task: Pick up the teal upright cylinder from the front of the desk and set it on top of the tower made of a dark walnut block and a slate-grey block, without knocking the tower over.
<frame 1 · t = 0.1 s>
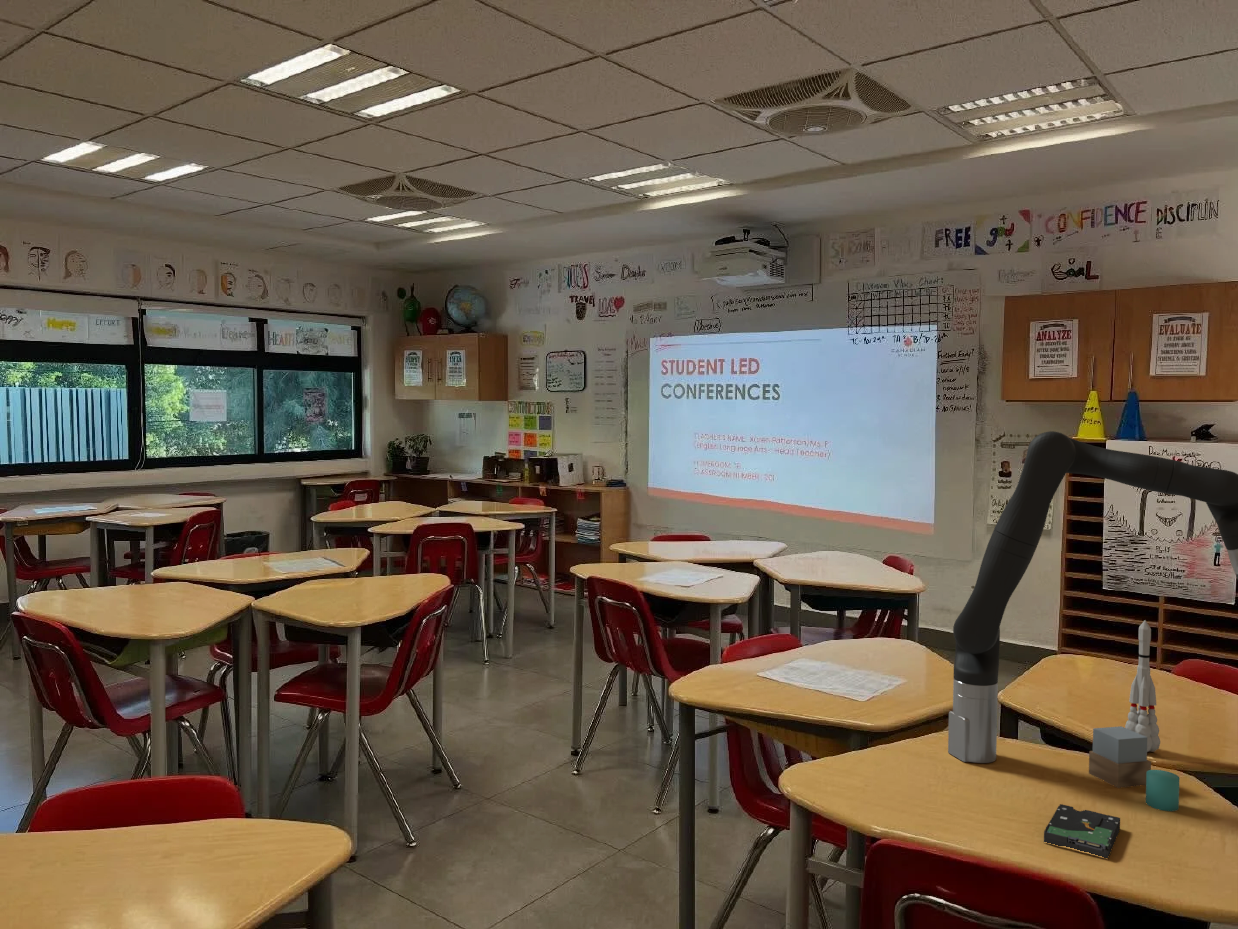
teal upright cylinder: (1162, 805, 174), on the table
base block: (1119, 779, 187), on the table, touching middle block
rocket model: (1141, 751, 203), on the table
middle block: (1119, 756, 186), point 5 cm above the table, touching base block
disk drive: (1082, 840, 160), on the table
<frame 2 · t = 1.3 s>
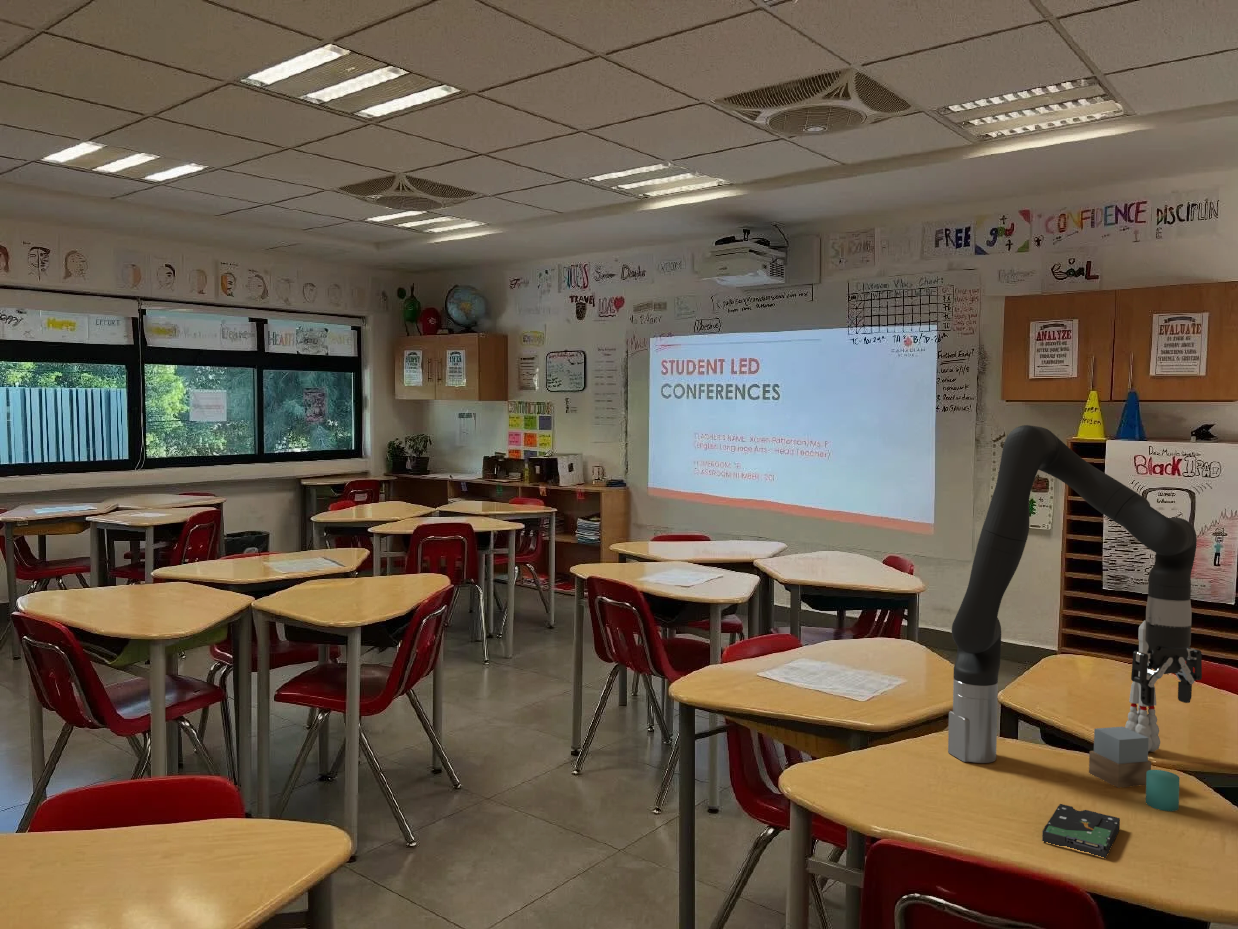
hand: (1165, 703, 173), 20 cm above the table, tool pointing down, fingers open, 8 cm apart
base block: (1119, 779, 187), on the table
middle block: (1120, 756, 186), point 5 cm above the table
everything else where it was.
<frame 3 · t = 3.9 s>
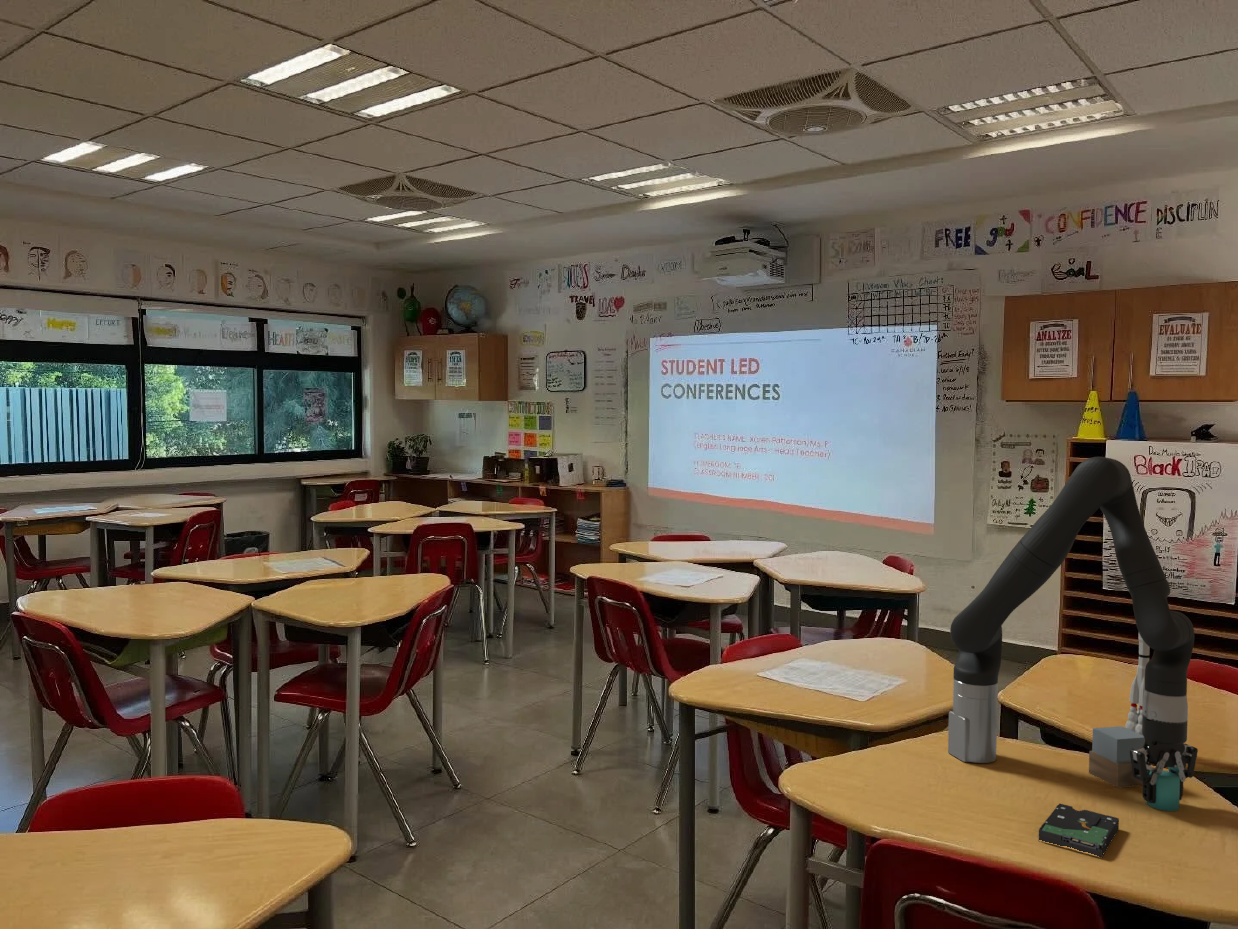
hand: (1162, 800, 173), 1 cm above the table, tool pointing down, fingers closed on teal upright cylinder, 5 cm apart
teal upright cylinder: (1162, 805, 174), on the table, touching gripper
base block: (1119, 779, 187), on the table, touching middle block
middle block: (1118, 756, 187), point 5 cm above the table, touching base block
everything else where it was.
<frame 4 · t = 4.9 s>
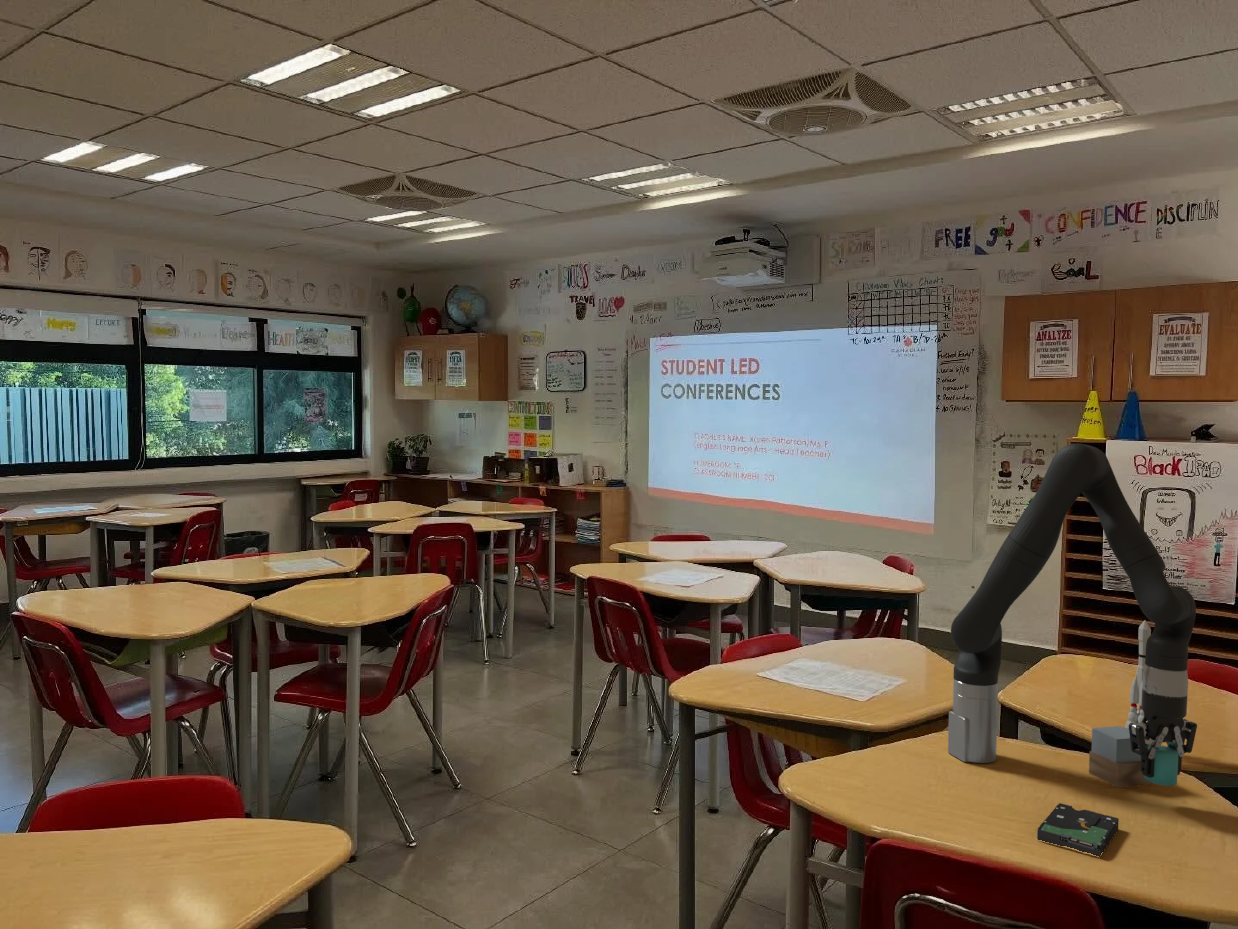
hand: (1160, 774, 173), 6 cm above the table, tool pointing down, fingers closed on teal upright cylinder, 5 cm apart
teal upright cylinder: (1160, 780, 173), point 5 cm above the table, touching gripper
everything else where it was.
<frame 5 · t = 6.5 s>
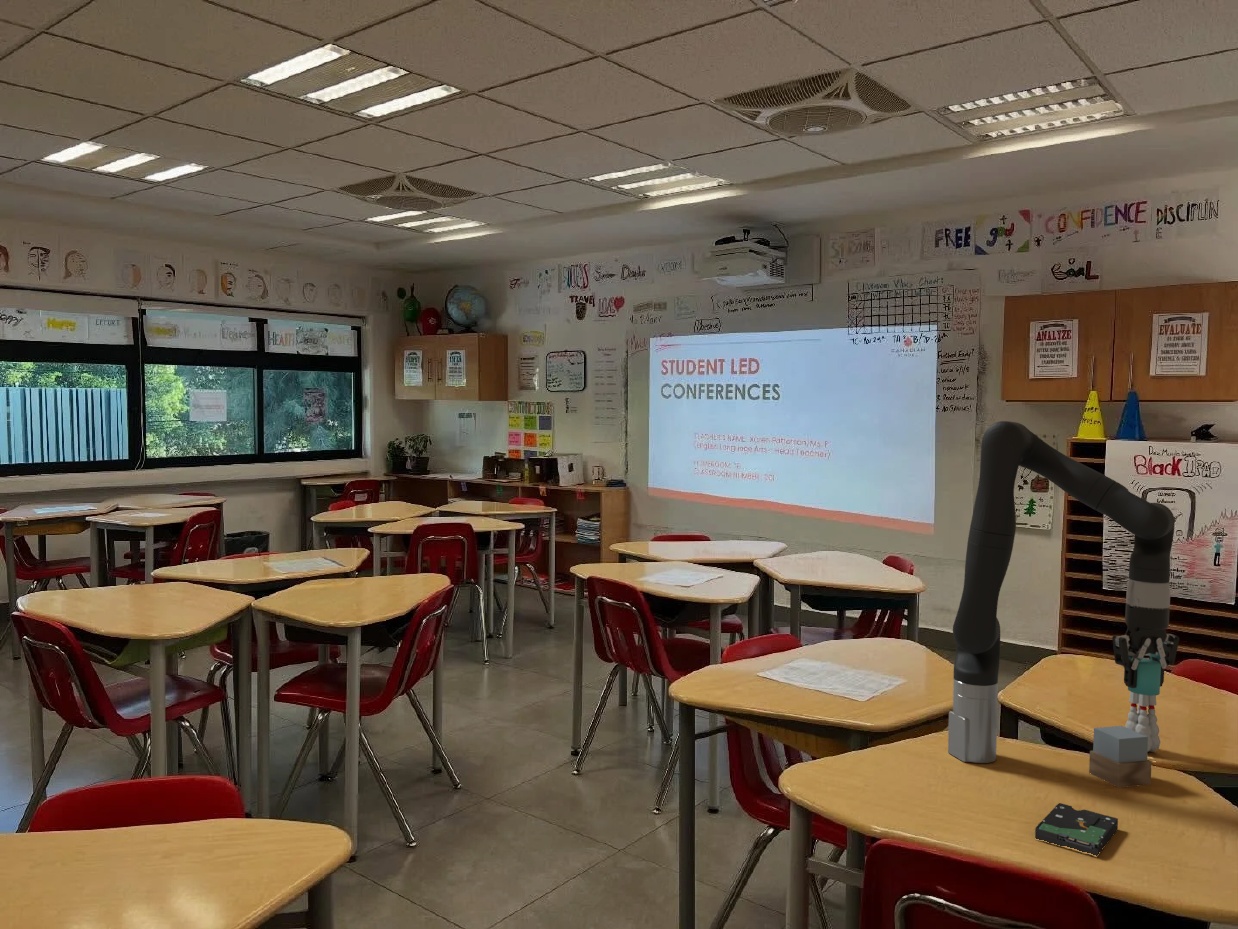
hand: (1143, 686, 178), 22 cm above the table, tool pointing down, fingers closed on teal upright cylinder, 5 cm apart
teal upright cylinder: (1143, 691, 178), point 21 cm above the table, touching gripper
everything else where it was.
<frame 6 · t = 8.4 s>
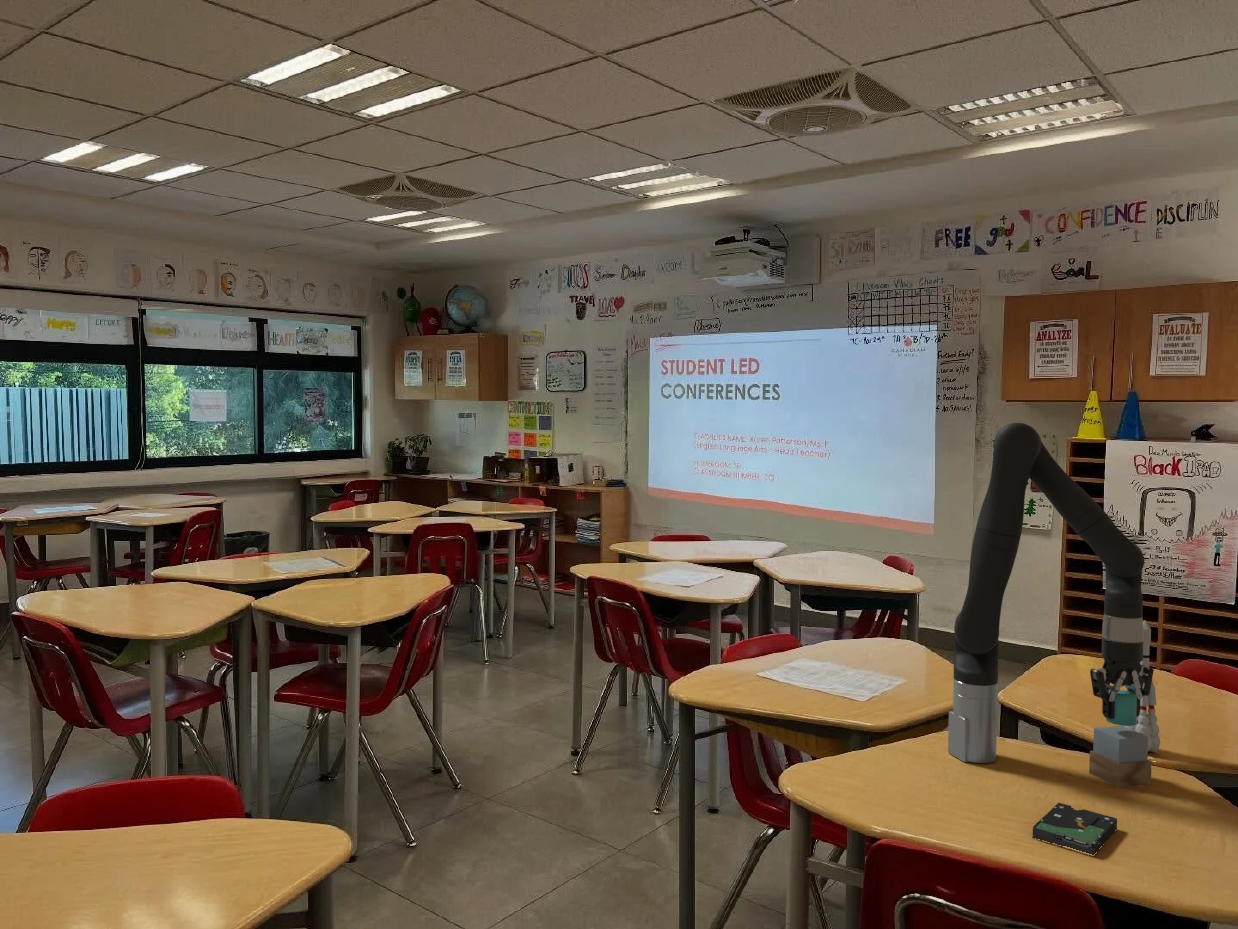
hand: (1120, 716, 186), 13 cm above the table, tool pointing down, fingers closed on teal upright cylinder, 5 cm apart
teal upright cylinder: (1121, 721, 186), point 12 cm above the table, touching gripper
when the fingers open (12 cm above the table, at t = 9.0 s): teal upright cylinder drops 2 cm, resting on middle block.
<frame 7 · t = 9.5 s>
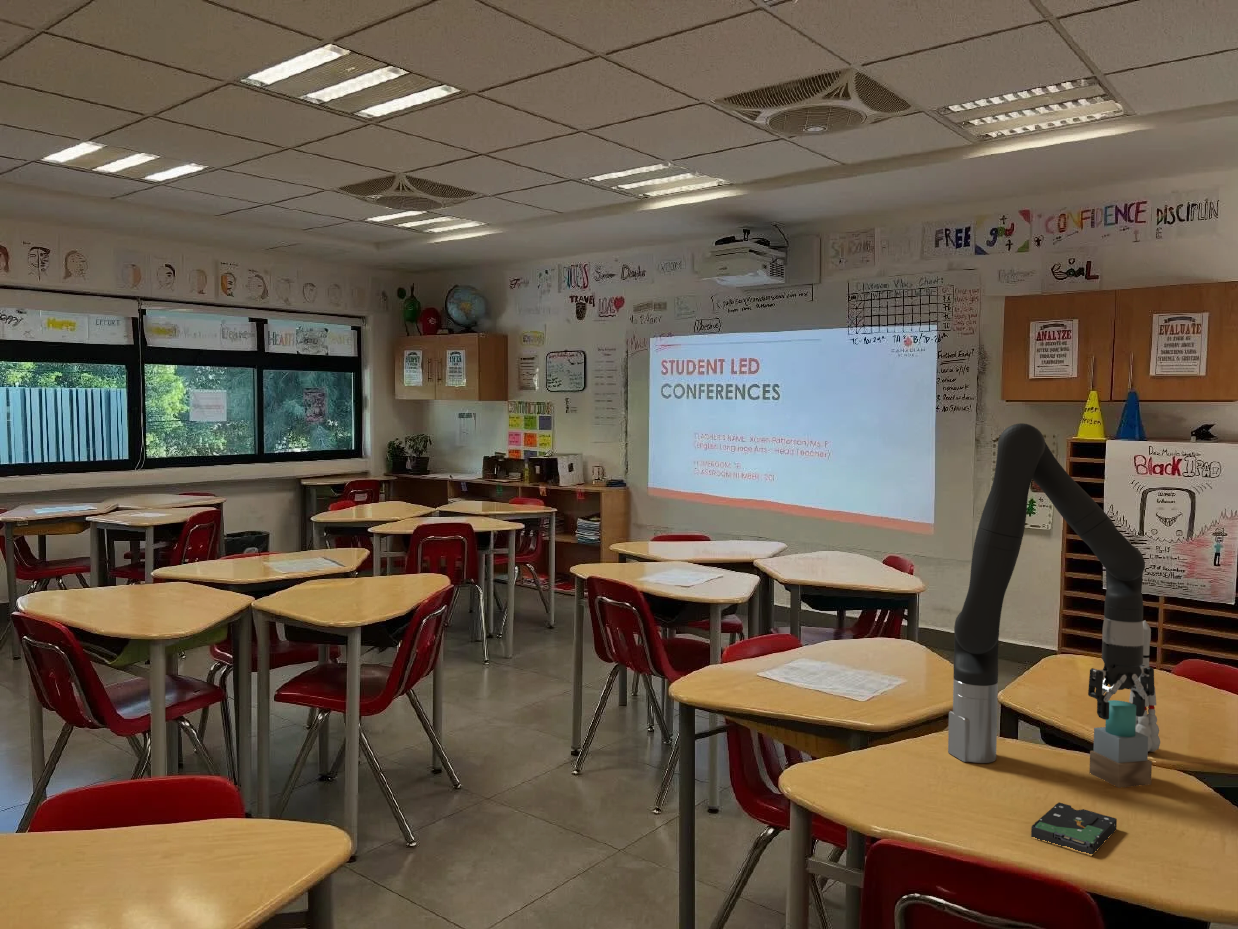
hand: (1120, 717, 186), 13 cm above the table, tool pointing down, fingers open, 8 cm apart
teal upright cylinder: (1120, 732, 186), point 10 cm above the table, touching middle block
middle block: (1120, 755, 187), point 5 cm above the table, touching base block, teal upright cylinder
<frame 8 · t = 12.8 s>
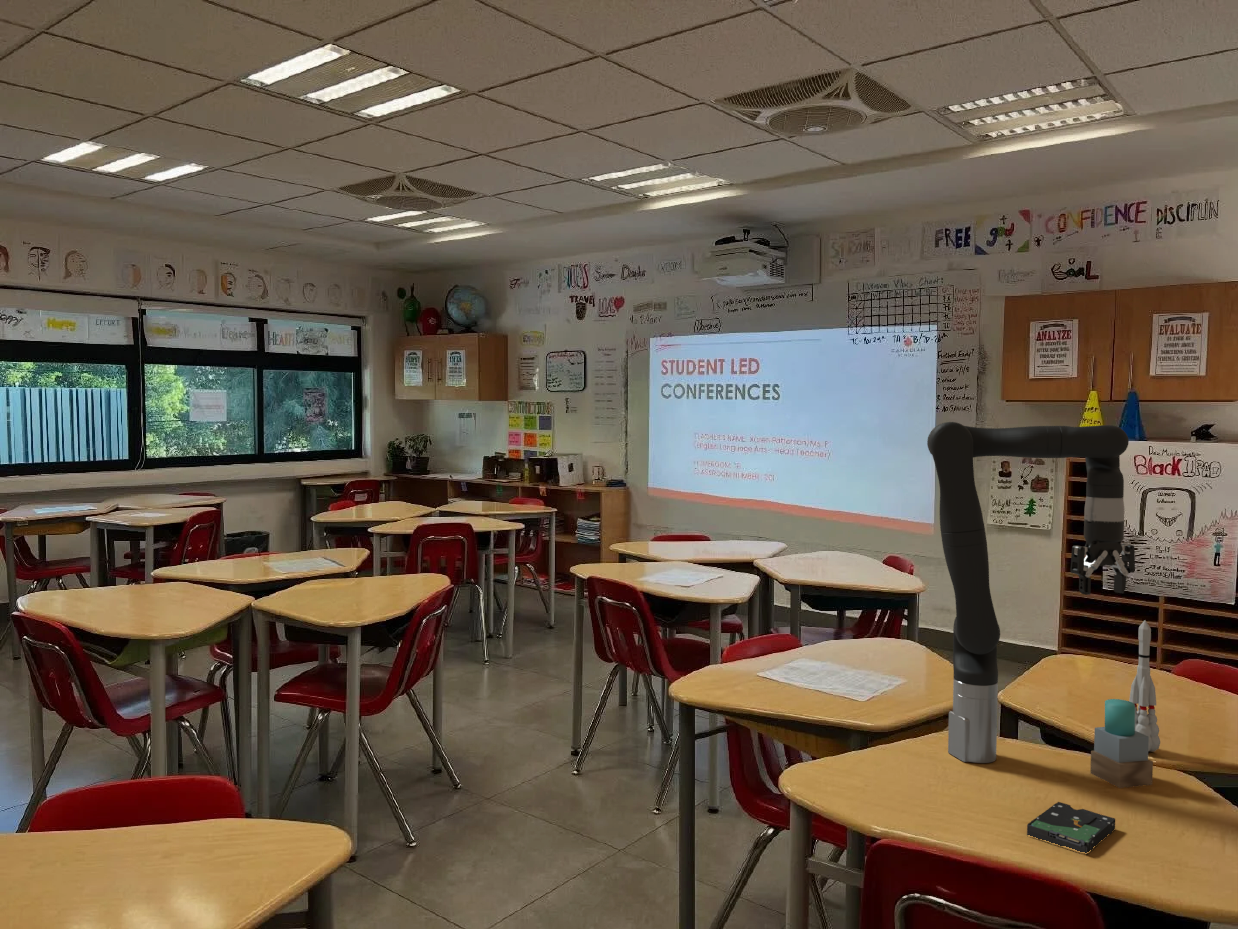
hand: (1102, 593, 191), 38 cm above the table, tool pointing down, fingers open, 8 cm apart
at the end: teal upright cylinder 0.3 cm off-centre on the middle block, point 5.2 cm above the middle block's base; middle block 0.4 cm off-centre on the base block, point 5.0 cm above the base block's base; teal upright cylinder tilted 4° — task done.
